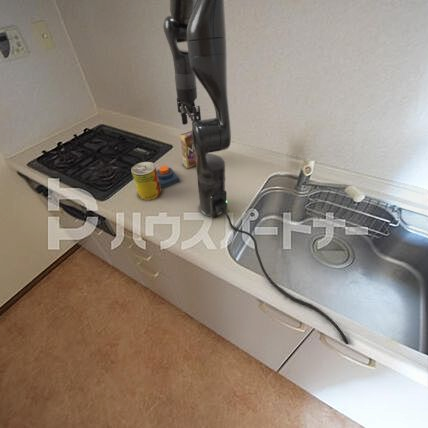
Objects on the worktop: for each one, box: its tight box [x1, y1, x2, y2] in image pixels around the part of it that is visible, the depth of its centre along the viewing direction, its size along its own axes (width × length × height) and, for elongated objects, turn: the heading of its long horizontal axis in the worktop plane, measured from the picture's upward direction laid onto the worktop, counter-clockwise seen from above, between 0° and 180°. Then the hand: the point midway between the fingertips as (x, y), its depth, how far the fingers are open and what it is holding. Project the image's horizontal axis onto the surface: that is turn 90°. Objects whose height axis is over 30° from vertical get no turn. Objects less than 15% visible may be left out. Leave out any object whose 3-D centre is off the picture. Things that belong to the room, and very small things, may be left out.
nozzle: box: [158, 165, 170, 175], centre depth 100 cm, size 4×4×2 cm
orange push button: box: [156, 167, 180, 189], centre depth 102 cm, size 10×8×4 cm
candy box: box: [179, 130, 196, 169], centre depth 105 cm, size 9×4×15 cm, turn 123°
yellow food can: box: [130, 160, 162, 201], centre depth 93 cm, size 9×9×12 cm
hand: (190, 127), depth 98 cm, fingers open, 8 cm apart
